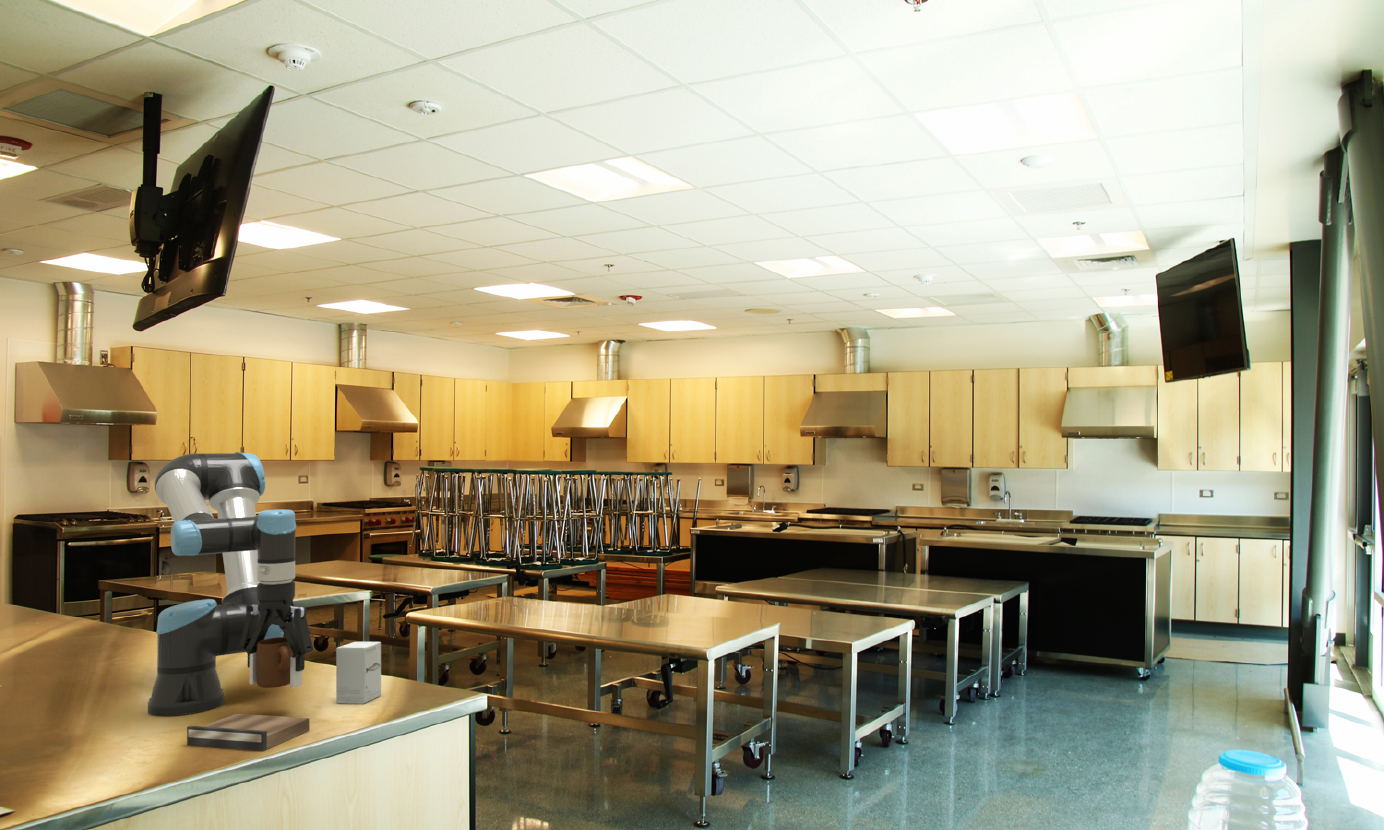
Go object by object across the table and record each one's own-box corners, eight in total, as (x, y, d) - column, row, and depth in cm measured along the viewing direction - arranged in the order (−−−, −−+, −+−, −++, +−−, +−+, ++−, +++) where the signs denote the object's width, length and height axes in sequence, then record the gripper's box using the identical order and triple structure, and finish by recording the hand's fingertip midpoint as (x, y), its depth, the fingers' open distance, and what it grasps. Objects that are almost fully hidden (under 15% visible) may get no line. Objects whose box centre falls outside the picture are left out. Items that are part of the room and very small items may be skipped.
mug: (305, 688, 192) (305, 644, 192) (267, 695, 187) (267, 649, 187) (289, 676, 201) (289, 634, 201) (252, 683, 196) (252, 640, 196)
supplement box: (364, 704, 202) (364, 647, 202) (335, 703, 203) (334, 647, 204) (382, 695, 209) (382, 641, 209) (353, 694, 210) (353, 640, 211)
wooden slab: (186, 745, 175) (186, 726, 175) (236, 725, 187) (236, 708, 188) (263, 750, 170) (263, 732, 170) (309, 730, 183) (309, 713, 183)
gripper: (220, 581, 194) (219, 685, 193) (308, 586, 188) (307, 692, 187) (246, 576, 201) (245, 676, 201) (331, 580, 195) (331, 683, 195)
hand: (275, 684), depth 194 cm, fingers closed on mug, 10 cm apart
